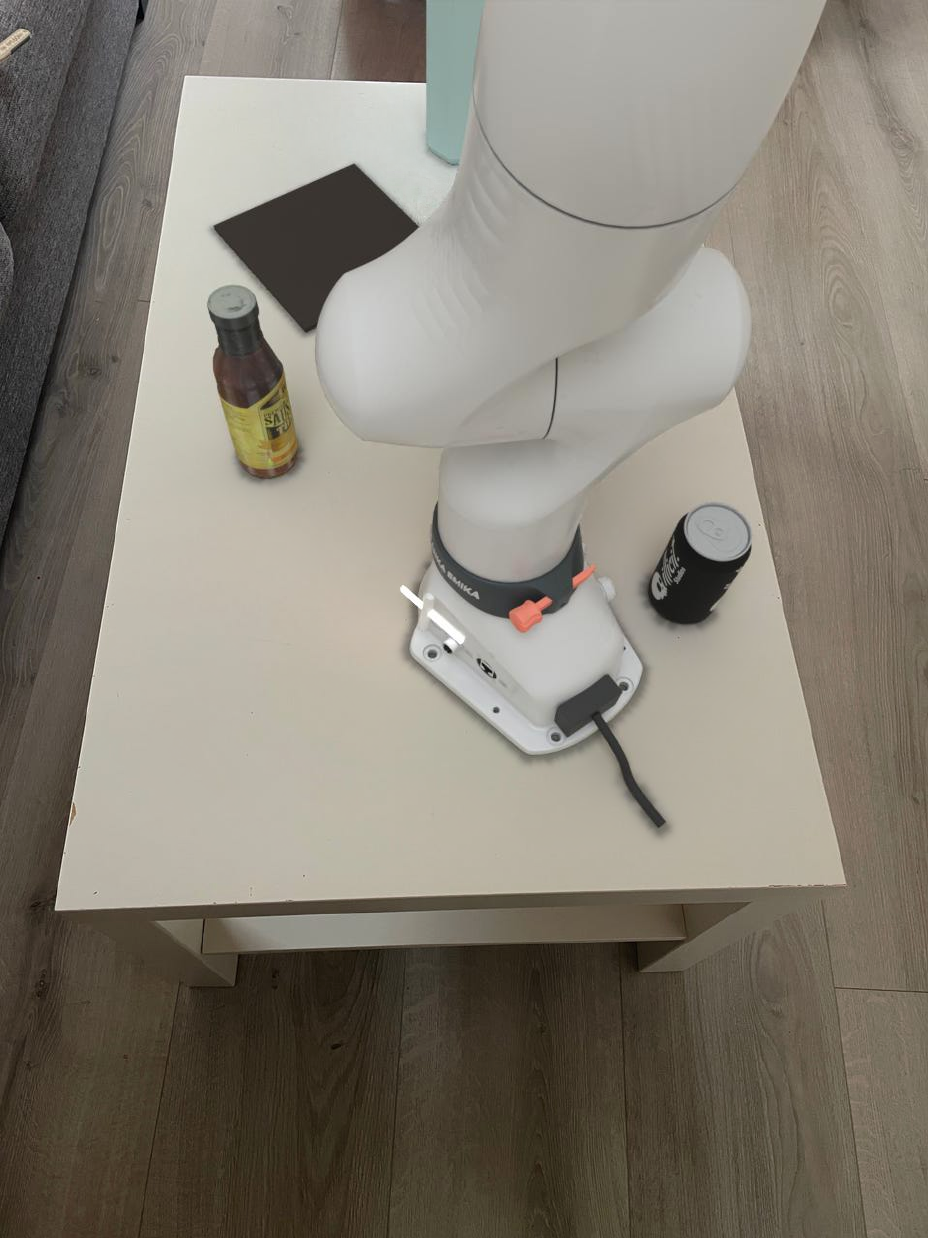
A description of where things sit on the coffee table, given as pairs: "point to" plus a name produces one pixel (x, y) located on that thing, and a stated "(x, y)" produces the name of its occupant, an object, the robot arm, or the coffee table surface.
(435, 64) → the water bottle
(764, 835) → the coffee table surface
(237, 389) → the sauce bottle
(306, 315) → the mat
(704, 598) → the beverage can
